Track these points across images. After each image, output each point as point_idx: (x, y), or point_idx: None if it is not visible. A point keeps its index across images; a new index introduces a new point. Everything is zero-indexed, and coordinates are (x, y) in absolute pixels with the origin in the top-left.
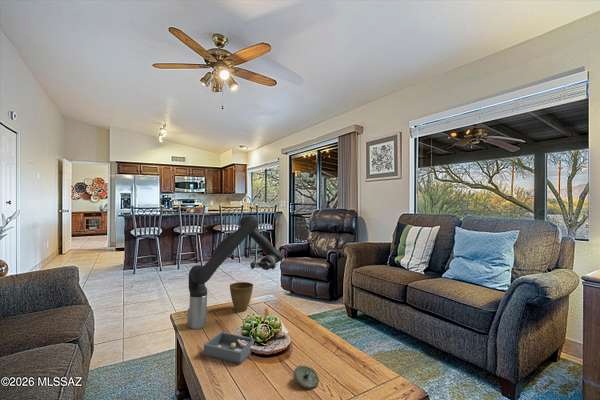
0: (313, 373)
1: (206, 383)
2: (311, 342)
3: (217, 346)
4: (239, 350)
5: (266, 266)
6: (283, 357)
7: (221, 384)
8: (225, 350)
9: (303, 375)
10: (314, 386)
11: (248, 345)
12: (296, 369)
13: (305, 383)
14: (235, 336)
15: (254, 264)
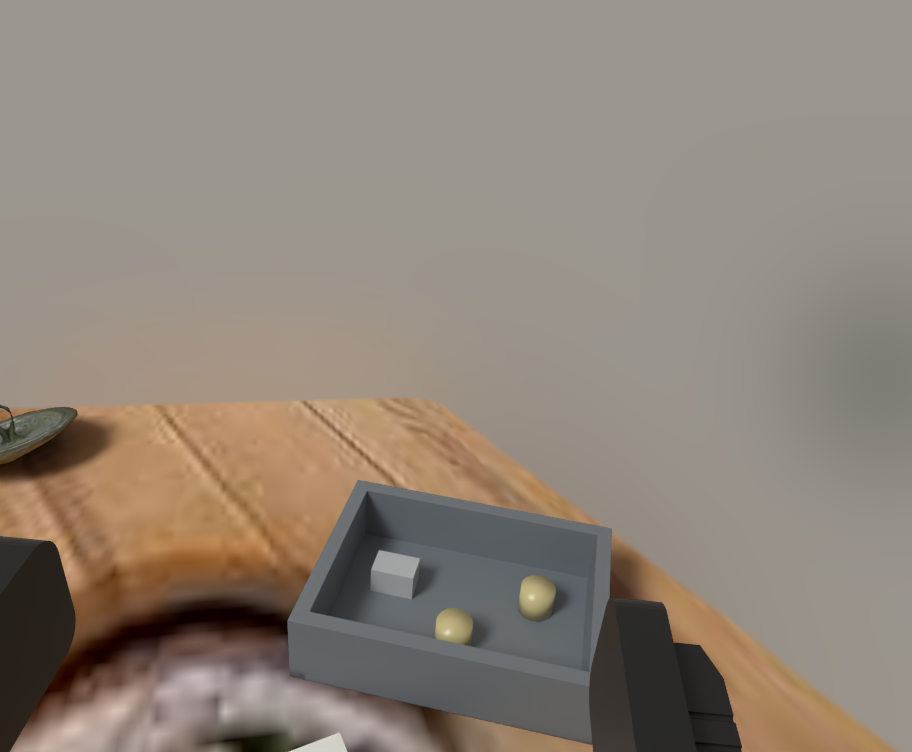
0: None
1: (464, 431)
2: None
3: (520, 520)
4: (385, 561)
5: (23, 542)
6: (83, 608)
7: (401, 430)
8: (456, 502)
9: (21, 440)
10: None
11: (327, 543)
12: (50, 430)
13: (28, 421)
14: (460, 648)
15: None
